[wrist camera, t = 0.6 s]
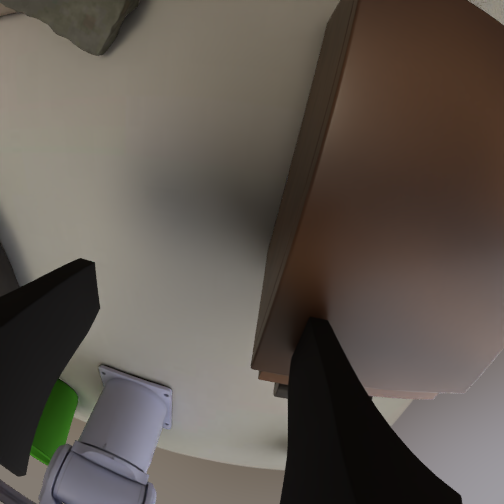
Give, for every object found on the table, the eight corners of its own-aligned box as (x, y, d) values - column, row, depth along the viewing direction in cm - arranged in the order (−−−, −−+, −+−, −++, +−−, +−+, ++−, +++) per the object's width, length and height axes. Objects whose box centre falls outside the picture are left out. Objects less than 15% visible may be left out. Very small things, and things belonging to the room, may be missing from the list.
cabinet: (417, 287, 19) (464, 394, 11) (267, 250, 19) (249, 369, 11) (491, 98, 12) (603, 128, 4) (327, 22, 12) (368, -48, 4)
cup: (95, 416, 35) (67, 476, 26) (44, 390, 35) (14, 444, 25) (86, 386, 31) (50, 457, 21) (30, 356, 30) (-10, 417, 21)
